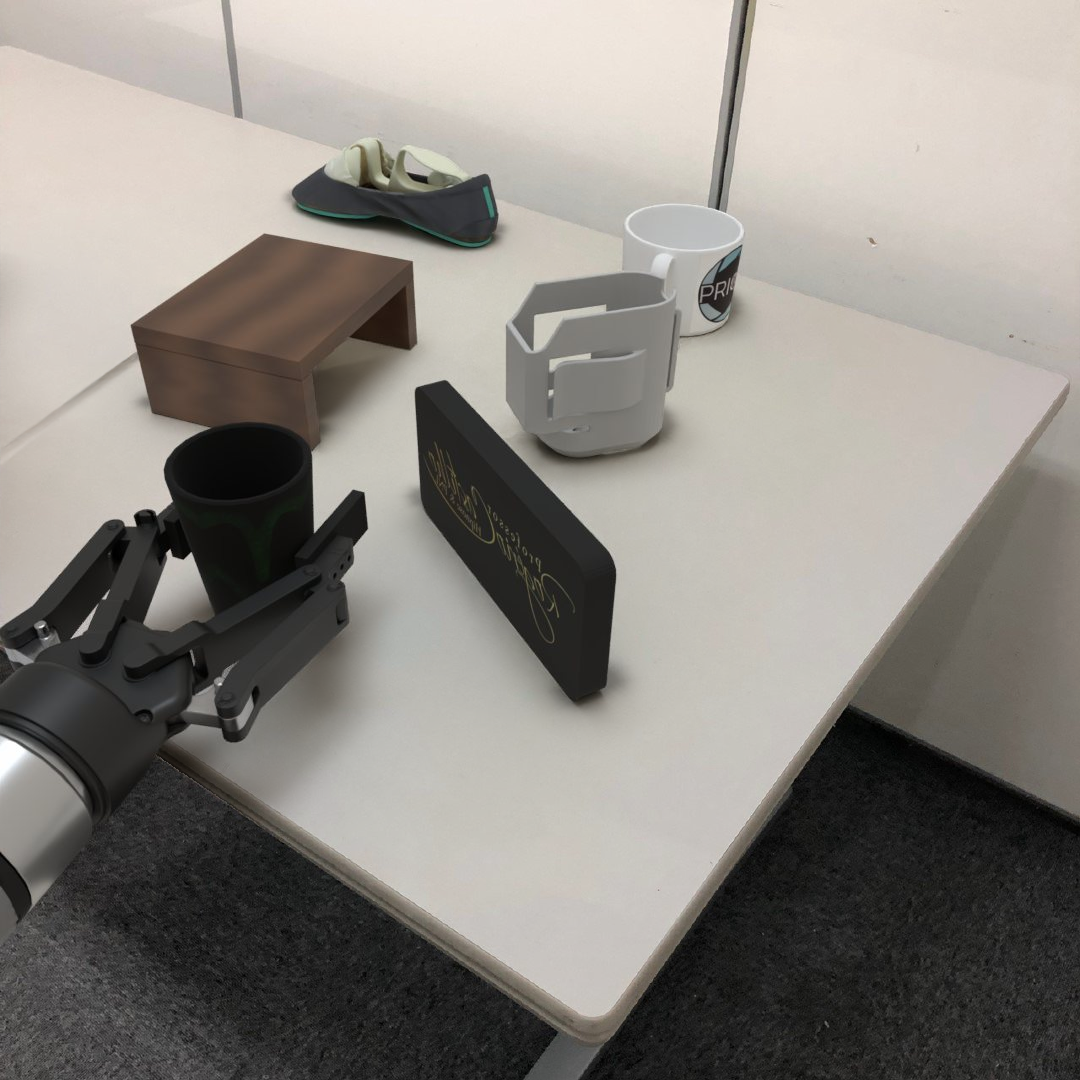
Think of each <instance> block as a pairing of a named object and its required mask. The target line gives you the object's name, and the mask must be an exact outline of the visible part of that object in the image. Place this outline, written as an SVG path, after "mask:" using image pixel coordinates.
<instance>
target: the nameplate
mask: <svg viewBox="0 0 1080 1080" xmlns="http://www.w3.org/2000/svg"><path fill="white" fill-rule="evenodd" d="M414 409H415V424H416V425H415V426H416V437H417V438H416V443H417V444H416V445H417V461H418V476H419V477H418V478H419V493H420V500H421V504H422V507H423V510H424V511H425V513H426V515H427V516H428V518H429V519H430V520H431V522H432V523H433V524H434V526H435V527H436V528H437V529H438V531H439V532H440V533H441V534H442V536H443V537H444V539H445V540H446V541H447V542H448V544H449V545H450V546H451V547H452V549H453V550H454V551H455V553H456V555H458V557H459V558H460V559H461V560H462V562H463V563H464V564H465V566H466V567H467V568H468V569H469V570H470V572H471V573H472V574H473V576H474V577H475V578H476V580H477V581H478V582H479V584H480V585H481V586H482V587H483V589H484V590H485V591H486V593H487V594H488V595H489V596H490V598H491V599H492V601H494V603H495V604H496V605H497V607H498V608H499V609H500V610H501V611H502V613H503V614H504V616H505V617H506V618H507V620H508V621H509V622H510V624H511V625H512V626H513V627H514V629H515V630H516V631H517V633H518V634H519V636H520V637H521V638H522V639H523V641H525V643H526V644H527V645H528V647H529V648H530V649H531V650H532V651H533V653H534V654H535V656H536V657H537V658H538V660H539V661H540V662H541V664H543V666H544V667H545V668H546V670H547V671H548V672H549V674H550V675H551V676H552V677H553V679H554V680H555V681H556V683H557V684H558V685H559V686H560V688H561V690H562V691H563V692H564V693H565V695H566V696H567V697H568V698H569V699H570V700H573V701H576V700H578V699H581V698H583V697H585V696H587V695H590V694H593V693H595V692H598V691H600V690H603V689H604V688H606V686H607V683H608V674H609V661H610V653H611V652H610V651H611V642H612V641H611V640H612V627H613V619H614V608H615V607H614V605H615V597H616V585H617V568H616V564H615V561H614V558H613V556H612V555H611V553H610V550H608V549H607V548H606V546H605V545H604V544H603V543H602V542H601V541H600V540H599V539H598V538H597V537H596V536H595V535H594V534H593V532H592V531H590V530H589V528H587V527H586V525H584V523H583V522H582V521H581V520H580V519H579V518H578V517H577V516H576V515H575V514H574V512H572V510H570V509H569V508H568V507H567V506H566V504H565V503H564V502H563V501H562V500H561V499H560V498H559V497H558V496H557V494H556V493H555V492H553V490H552V489H551V488H550V487H549V486H547V484H546V483H545V482H544V481H543V480H542V479H541V478H540V477H539V476H538V475H537V473H535V471H534V470H533V469H532V468H531V467H530V466H528V464H527V463H526V462H525V461H524V459H522V458H521V457H520V456H519V454H517V453H516V452H515V450H513V448H512V447H511V446H510V445H509V444H508V443H507V442H506V441H505V439H503V437H501V436H500V435H499V434H498V433H497V432H496V430H494V428H493V427H492V426H491V425H490V424H489V423H488V422H487V421H486V420H485V419H484V417H482V415H480V413H478V412H477V410H476V409H475V408H474V407H473V406H472V405H471V404H470V403H469V402H468V401H467V400H466V398H464V396H463V395H462V394H460V392H459V391H458V390H457V389H456V388H455V387H454V386H453V385H452V384H451V383H450V382H449V381H448V380H447V379H442V380H439V381H435V382H431V383H427V384H423V385H419V386H416V387H415V389H414Z"/></svg>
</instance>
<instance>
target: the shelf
mask: <svg viewBox="0 0 1080 1080" xmlns="http://www.w3.org/2000/svg"><path fill="white" fill-rule="evenodd" d="M414 276H415V275H414V261H413V260H409V259H403V258H398V257H393V256H387V255H382V254H379V253H371V252H367V251H361V250H356V249H351V248H346V247H340V246H339V247H338V246H334V245H329V244H323V243H318V242H313V241H307V240H302V239H296V238H291V237H286V236H282V235H281V236H280V235H275V234H271V233H264V232H263V234H261V235H260V236H258V237H257V238H255V239H254V240H252V241H251V242H249V243H248V244H247V245H245V246H243V247H242V248H240V249H239V250H238V251H236V252H235V253H233V254H232V255H230V256H228V257H227V258H226V259H224V260H223V261H222V262H220V263H219V264H217V265H216V266H214V267H213V268H211V269H210V270H208V271H207V272H206V273H204V274H202V275H201V276H199V277H198V278H197V279H195V280H194V281H192V282H191V283H189V284H188V285H186V286H185V287H183V288H182V289H180V290H179V291H178V292H176V293H175V294H173V295H172V296H170V297H169V298H167V299H165V301H163V302H162V303H160V304H159V305H157V306H156V307H154V308H153V309H151V310H150V311H149V312H147V313H145V314H144V315H143V316H141V317H140V318H138V319H137V320H136V321H134V322H132V323H130V329H131V333H132V337H133V341H134V342H133V343H134V345H135V349H136V353H137V357H138V362H139V365H140V370H141V374H142V377H143V382H144V386H145V391H146V394H147V398H148V402H149V406H150V407H149V408H150V410H151V413H153V414H157V415H160V416H161V415H162V416H164V417H170V418H173V419H176V420H181V421H185V422H189V423H192V424H193V423H194V424H198V425H201V426H205V427H209V428H213V427H216V426H221V425H226V424H230V423H240V422H263V423H269V424H274V425H279V426H282V427H284V428H287V429H290V430H292V431H294V432H295V433H297V434H298V435H300V436H301V437H303V438H304V440H305V441H306V442H307V443H308V444H309V446H310V449H311V452H312V451H313V450H314V449H315V448H316V447H317V446H318V445H319V444H320V443H321V441H322V440H321V439H322V438H321V431H320V424H319V417H318V409H317V400H316V393H315V386H314V385H315V384H314V378H313V371H314V370H315V369H316V368H317V367H318V366H319V365H320V364H321V363H322V362H324V361H325V360H326V359H327V358H328V357H329V356H330V355H331V354H333V352H335V350H337V349H338V348H339V347H340V346H341V345H342V344H343V343H344V342H345V341H347V339H354V340H358V341H363V342H368V343H373V344H377V345H383V346H387V347H391V348H396V349H400V350H406V351H411V350H412V349H413V348H414V347H415V346H416V345H417V344H418V331H417V330H418V329H417V314H416V313H417V311H416V297H415V294H416V293H415V277H414Z"/></svg>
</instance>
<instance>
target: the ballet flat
mask: <svg viewBox="0 0 1080 1080" xmlns="http://www.w3.org/2000/svg"><path fill="white" fill-rule="evenodd" d="M383 145H384V144H383V143H382V141H381V139H379V138H378V137H371V136H368V137H365V138H364V137H363V138H360V139H358V140H357V141H356V142H354V143H353V144H351V145H349V146H344V147H343V148H342V150H341V151H340V153H339V154H338V155H335V156H333V157H332V158H331V159H330V160H329V161H328V162H327V163H325V164H324V165H322V167H320V168H318V169H316V170H315V171H314V172H313V173H311V174H309V175H308V176H307V177H305V178H304V179H302V180H301V181H300V182H298V183H297V184H296V185H295V186H294V187H293V188H292V190H291V197H292V198H293V199H294V200H295V202H296V205H297V207H299V208H300V209H302V210H305V211H307V212H310V213H314V214H317V215H321V216H326V217H331V218H332V217H333V218H342V219H343V218H344V219H370V218H375V217H377V216H382V217H388V218H393V219H397V220H400V221H401V222H404V223H406V224H408V225H410V226H413V227H415V228H417V229H420V230H422V231H424V232H426V233H429V234H431V235H434V236H435V237H438V238H440V239H443V240H445V241H448V242H451V243H454V244H457V245H460V246H463V247H468V248H477V247H482V246H484V245H487V244H488V243H489V242H490V241H491V239H492V235H493V233H494V232H496V230H497V228H498V224H499V216H500V215H499V212H498V206H497V201H496V198H495V197H496V196H495V194H494V190H493V186H492V180H491V177H490V176H489V174H487V173H481V174H479V175H476V176H474V177H473V176H471V175H470V174H468V173H467V172H465V171H464V170H462V169H461V167H459V166H458V164H456V163H455V162H454V161H452V160H451V159H449V158H448V157H446V156H444V155H442V154H439V153H438V152H435V151H432V150H430V149H426V148H422V147H421V148H420V147H418V146H415V145H412V144H406V145H404V146H402V147H401V148H399V150H398V151H397V153H396V157H393V155H392V154H391V153H389V152H388V151H387V150H386V149H385V148H384V146H383ZM406 153H408V154H409V155H410V156H412V158H413V159H414V160H415V161H417V162H418V163H419V164H421V165H422V166H424V167H426V168H428V169H430V170H432V171H431V172H430V173H429V174H428V175H424V174H418V173H413V172H410V171H406V168H405V157H406Z"/></svg>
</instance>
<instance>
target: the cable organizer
mask: <svg viewBox="0 0 1080 1080" xmlns="http://www.w3.org/2000/svg"><path fill="white" fill-rule="evenodd" d="M664 282H665V278H664V277H662V276H660V275H657V274H654V273H650V272H644V271H633V270H627V271H622V270H618V271H617V270H616V271H610V272H602V273H596V274H595V273H594V274H588V275H580V276H574V277H573V276H572V277H566V278H559V279H550V280H545V281H536V282H535V283H534V284H533V285H532V287H531V289H530V290H529V292H528V294H527V295H526V296H525V298H524V300H523V302H522V303H521V304H520V307H519V308H518V310H517V311H516V312H515V313H514V314H513V315H512V316H511V317H510V318H509V319H508V321H507V322H506V323H505V401H506V403H507V405H508V406H509V408H510V410H511V412H512V413H513V415H514V416H515V418H516V419H517V421H518V423H519V425H520V426H521V428H522V429H523V431H524V432H526V433H529V434H533V435H534V434H535V435H537V437H538V438H539V440H541V441H542V442H543V443H544V444H546V445H547V446H548V447H549V448H551V449H552V450H553V451H555V452H556V453H558V454H560V455H562V456H565V457H569V458H576V459H577V458H579V459H581V458H582V459H583V458H589V457H595V456H598V455H603V454H608V453H612V452H618V451H622V450H623V451H624V450H629V449H633V448H638V447H640V446H642V445H644V444H645V443H647V442H648V441H649V440H651V439H652V438H653V437H655V436H656V435H657V434H658V433H660V431H661V430H662V427H663V422H664V421H663V420H664V412H665V403H666V395H667V393H669V392H670V391H672V389H673V388H674V384H675V378H676V377H675V376H676V367H677V359H678V352H679V351H678V350H679V342H680V336H679V335H680V326H681V318H682V311H681V309H680V308H679V307H678V306H677V305H676V297H677V290H676V289H673V290H672V295H671V297H670V298H668V297H667V296H666V294H665V292H664ZM600 306H605V311H602V312H600V311H599V312H594V313H588V314H581V315H573V316H566V317H563V318H562V319H561V321H560V322H559V323H558V326H556V328H555V330H554V332H553V333H552V334H551V335H550V337H549V339H548V340H547V342H546V343H545V345H544V346H542V347H541V348H539V349H537V350H535V349H534V348H535V346H534V345H535V316H536V315H545V314H552V313H557V312H564V311H571V310H578V309H587V308H592V307H593V308H594V307H600ZM587 354H590V358H587V359H572V360H570V359H569V360H564V361H561V362H559V363H558V364H557V365H555V366H554V369H550V365H551V364H550V361H551V360H556V359H562V358H569V357H575V356H580V355H587ZM550 391H553V393H552V394H551V395H549V392H550ZM585 427H586V428H587V427H588V430H575V429H581V428H585Z"/></svg>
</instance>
